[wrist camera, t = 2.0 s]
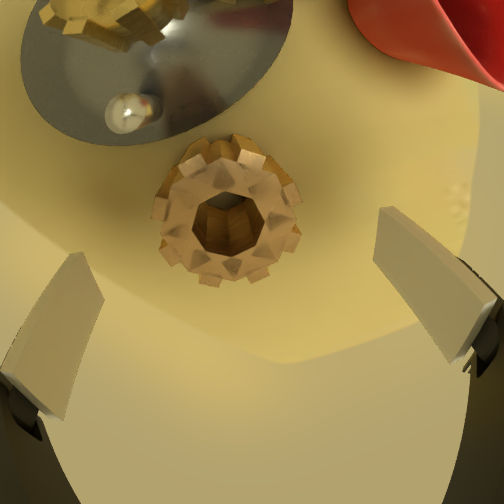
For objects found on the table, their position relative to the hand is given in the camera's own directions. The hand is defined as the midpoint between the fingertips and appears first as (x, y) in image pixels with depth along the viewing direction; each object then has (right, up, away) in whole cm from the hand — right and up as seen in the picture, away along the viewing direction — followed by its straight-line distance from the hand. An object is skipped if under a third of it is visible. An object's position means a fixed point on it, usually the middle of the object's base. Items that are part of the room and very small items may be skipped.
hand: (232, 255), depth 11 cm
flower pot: (+11, +17, +1) cm, 20 cm away
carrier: (-6, +15, -1) cm, 16 cm away
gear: (-1, +5, +7) cm, 8 cm away
